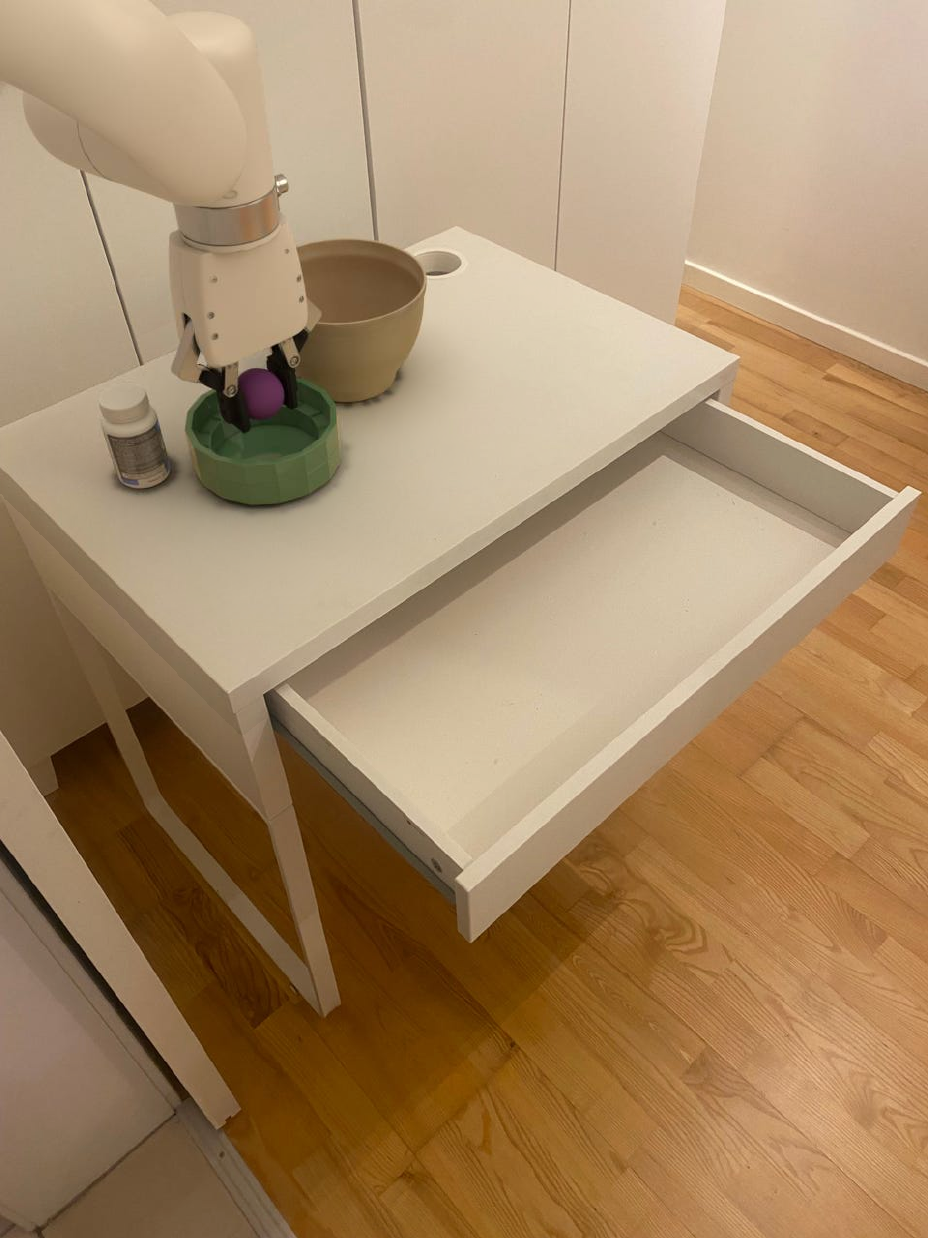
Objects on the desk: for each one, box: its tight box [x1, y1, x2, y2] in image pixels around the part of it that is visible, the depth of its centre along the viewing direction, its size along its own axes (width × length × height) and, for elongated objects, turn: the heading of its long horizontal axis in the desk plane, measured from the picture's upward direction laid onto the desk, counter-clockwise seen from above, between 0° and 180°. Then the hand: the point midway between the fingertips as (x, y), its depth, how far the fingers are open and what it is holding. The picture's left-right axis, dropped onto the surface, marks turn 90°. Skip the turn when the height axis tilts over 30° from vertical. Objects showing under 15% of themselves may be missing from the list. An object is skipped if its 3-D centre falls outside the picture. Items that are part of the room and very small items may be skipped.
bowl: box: [184, 376, 342, 506], centre depth 87 cm, size 13×13×5 cm
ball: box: [238, 367, 284, 420], centre depth 83 cm, size 4×4×4 cm
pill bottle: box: [97, 381, 171, 489], centre depth 84 cm, size 5×5×8 cm
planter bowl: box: [295, 237, 428, 403], centre depth 94 cm, size 16×16×11 cm
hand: (261, 411), depth 84 cm, fingers closed on ball, 4 cm apart
